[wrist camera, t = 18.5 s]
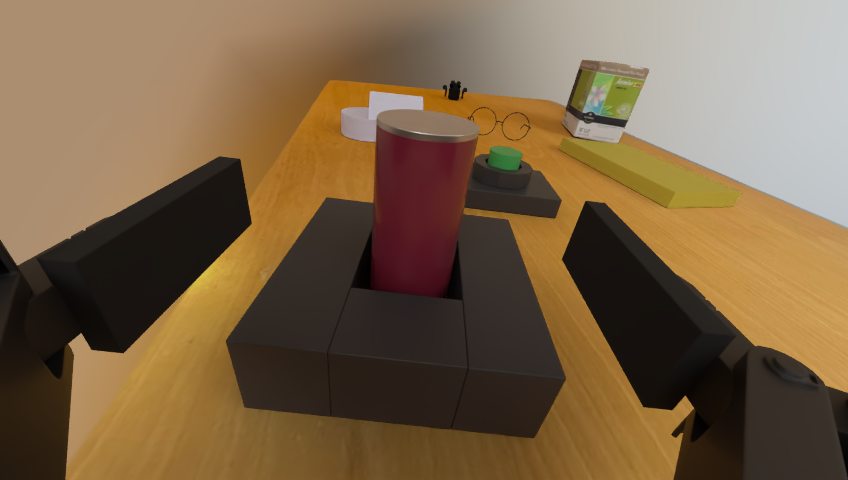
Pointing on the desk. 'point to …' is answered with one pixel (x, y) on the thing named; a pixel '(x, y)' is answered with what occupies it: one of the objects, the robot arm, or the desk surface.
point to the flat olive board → (651, 175)
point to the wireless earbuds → (454, 90)
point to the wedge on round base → (374, 114)
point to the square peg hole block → (399, 334)
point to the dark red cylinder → (419, 199)
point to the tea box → (603, 99)
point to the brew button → (504, 158)
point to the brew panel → (511, 190)
